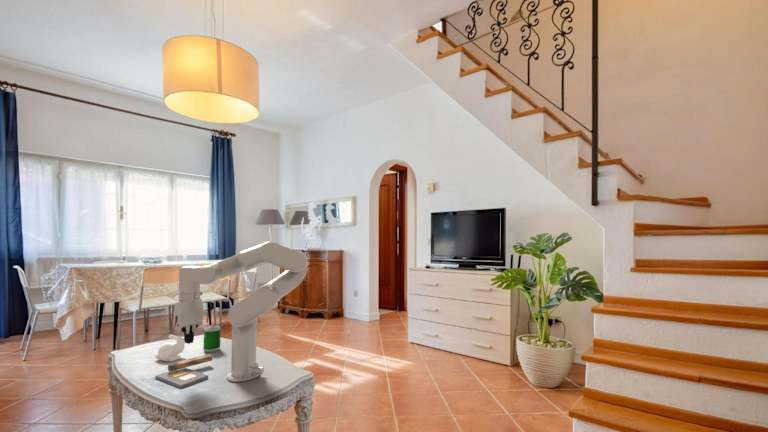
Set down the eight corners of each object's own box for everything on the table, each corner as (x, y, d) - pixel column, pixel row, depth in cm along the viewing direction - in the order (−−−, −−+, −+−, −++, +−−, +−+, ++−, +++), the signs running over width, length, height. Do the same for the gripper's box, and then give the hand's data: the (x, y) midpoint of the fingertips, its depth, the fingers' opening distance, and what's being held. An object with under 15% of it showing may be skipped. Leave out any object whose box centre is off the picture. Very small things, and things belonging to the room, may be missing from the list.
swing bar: (208, 358, 158) (209, 354, 158) (212, 360, 156) (212, 355, 156) (166, 369, 146) (166, 364, 146) (169, 371, 143) (169, 366, 143)
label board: (208, 378, 143) (208, 372, 143) (180, 388, 133) (180, 382, 133) (182, 369, 152) (182, 364, 152) (155, 378, 142) (155, 372, 142)
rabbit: (185, 354, 170) (186, 329, 171) (183, 361, 162) (184, 334, 162) (156, 358, 166) (157, 332, 166) (152, 365, 157) (153, 337, 158)
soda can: (223, 348, 180) (223, 324, 180) (213, 353, 172) (214, 328, 173) (209, 347, 181) (210, 324, 182) (199, 352, 174) (200, 327, 174)
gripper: (201, 293, 151) (201, 336, 150) (165, 299, 138) (164, 346, 137) (212, 294, 147) (212, 339, 146) (175, 300, 134) (174, 349, 133)
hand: (189, 342), depth 142 cm, fingers closed
